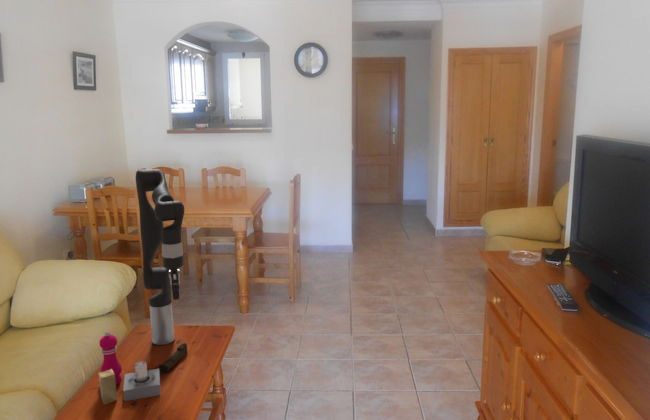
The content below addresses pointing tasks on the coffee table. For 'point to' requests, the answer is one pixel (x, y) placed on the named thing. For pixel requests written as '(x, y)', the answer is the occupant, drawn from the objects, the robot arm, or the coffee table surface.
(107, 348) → the pepper mill
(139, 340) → the coffee table surface
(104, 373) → the pale wooden block
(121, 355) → the coffee table surface
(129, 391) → the bore block
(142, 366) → the round bit
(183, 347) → the hand tool
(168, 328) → the robot arm
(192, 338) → the coffee table surface
